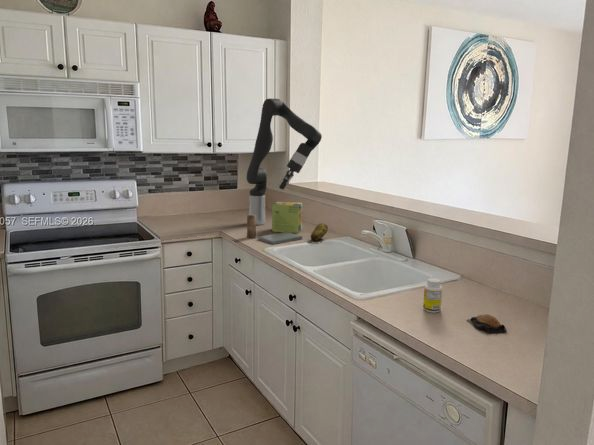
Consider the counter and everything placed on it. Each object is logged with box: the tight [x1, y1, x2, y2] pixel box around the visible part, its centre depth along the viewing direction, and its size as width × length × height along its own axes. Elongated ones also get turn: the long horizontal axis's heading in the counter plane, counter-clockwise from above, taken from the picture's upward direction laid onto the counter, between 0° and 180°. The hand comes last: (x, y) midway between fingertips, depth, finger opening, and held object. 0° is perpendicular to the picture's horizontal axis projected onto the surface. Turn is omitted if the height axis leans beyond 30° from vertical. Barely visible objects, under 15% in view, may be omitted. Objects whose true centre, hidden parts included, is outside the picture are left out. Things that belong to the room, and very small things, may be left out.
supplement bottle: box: [423, 277, 443, 314], centre depth 155 cm, size 6×6×10 cm
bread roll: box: [466, 314, 508, 335], centre depth 144 cm, size 11×9×4 cm
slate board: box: [257, 232, 303, 245], centre depth 251 cm, size 13×19×2 cm
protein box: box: [271, 201, 303, 234], centre depth 271 cm, size 10×15×16 cm
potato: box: [310, 223, 329, 242], centre depth 251 cm, size 8×13×8 cm, turn 134°
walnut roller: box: [246, 213, 257, 240], centre depth 253 cm, size 5×5×12 cm
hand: (281, 188), depth 254 cm, fingers open, 8 cm apart
